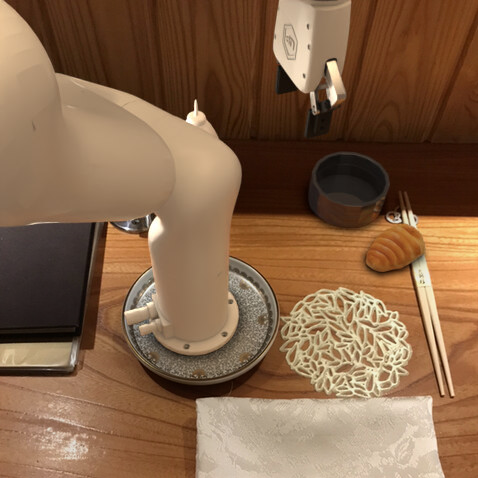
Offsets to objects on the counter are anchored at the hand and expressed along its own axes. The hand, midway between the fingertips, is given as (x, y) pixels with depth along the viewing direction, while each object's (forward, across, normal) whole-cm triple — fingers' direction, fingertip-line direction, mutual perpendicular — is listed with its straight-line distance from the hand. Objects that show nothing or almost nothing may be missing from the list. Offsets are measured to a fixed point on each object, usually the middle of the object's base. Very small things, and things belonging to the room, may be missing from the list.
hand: (300, 112), depth 74 cm
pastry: (+20, +13, +13) cm, 27 cm away
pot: (+20, 0, +11) cm, 23 cm away
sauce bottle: (+11, -10, -11) cm, 19 cm away
